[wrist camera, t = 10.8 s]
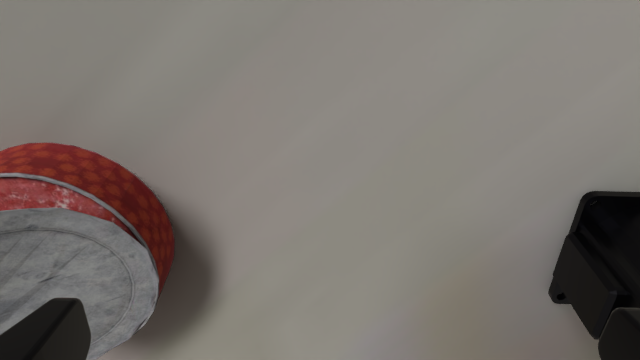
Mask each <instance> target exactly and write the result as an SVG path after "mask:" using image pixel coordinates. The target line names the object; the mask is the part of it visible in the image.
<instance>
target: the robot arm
mask: <svg viewBox="0 0 640 360" xmlns="http://www.w3.org/2000/svg"><path fill="white" fill-rule="evenodd" d="M593 201H596V202H595V203H594V204H593V205H590V204H591V203H592V202H593ZM559 293H561V294H559ZM548 294H549V296H550V297H551V299H552V301H553V302H555V303H558V304H571V305H572V307H573V308H574V310H575V311H576V313H577V315H578V316H579V318H580V319H581V321H582V322H583V324H584V326H585V327H586V329H587V330H588V332H589V334H590V335H591V336H592V337H593V338H594V339H599V343H598V350H599V355H600V358H601V360H640V192H607V191H592V192H589V193H586V194H585V195H584V196H583V197H582V198H581V200H580V203H579V206H578V209H577V211H576V214H575V217H574V220H573V223H572V226H571V229H570V231H569V234H568V235H567V236H566V238H565V241H564V244H563V247H562V250H561V252H560V255H559V258H558V261H557V264H556V267H555V270H554V273H553V280H552V283H551V285H550V288H549V292H548ZM90 344H91V331H90V327H89V324H88V320H87V317H86V313H85V310H84V306H83V303H82V301H81V300H80V299H78V298H53V299H51V300H49V301H48V302H46V303H45V304H43V305H42V306H41V307H39V308H38V309H36V310H35V311H33V312H32V313H31V314H29V315H28V316H26V317H25V318H23V319H22V320H21V321H19V322H18V323H16V324H15V325H13V326H12V327H11V328H9V329H8V330H6V331H5V332H4V333H2V334H1V335H0V360H86V358H87V355H88V352H89V348H90Z"/></svg>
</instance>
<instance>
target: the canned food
mask: <svg viewBox="0 0 640 360" xmlns="http://www.w3.org/2000/svg"><path fill="white" fill-rule="evenodd" d="M174 249H175V239H174V234H173V230H172V225H171V222H170V220H169V218H168V216H167V214H166V211H165V209H164V207H163V206H162V204H161V203H160V202H159V200H158V199H157V197H156V196H155V195H154V193H153V192H152V191H151V190H150V189H149V188H148V187H147V186H146V185H145V184H144V183H143V182H142V181H141V180H140V179H139V178H138V177H137V176H136V175H134V174H133V173H131V172H130V171H128V170H127V169H125V168H124V167H123V166H121V165H120V164H118V163H116V162H114V161H112V160H110V159H108V158H106V157H104V156H102V155H100V154H98V153H96V152H92V151H89V150H86V149H83V148H80V147H76V146H72V145H65V144H58V143H27V144H23V145H18V146H14V147H9V148H7V149H5V150H3V151H0V335H1V334H2V333H4V332H5V331H6V330H8V329H9V328H11V327H12V326H13V325H15V324H16V323H18V322H19V321H21V320H22V319H23V318H25V317H26V316H28V315H29V314H31V313H32V312H33V311H35V310H36V309H38V308H39V307H41V306H42V305H43V304H45V303H46V302H48V301H49V300H51V299H53V298H78V299H80V300H81V301H82V303H83V306H84V310H85V313H86V317H87V320H88V324H89V327H90V331H91V344H90V348H89V352H88V355H87V358H86V360H96V359H98V358H99V357H101V356H102V355H103V354H105V353H106V352H108V351H109V350H111V349H112V348H114V347H116V346H118V345H120V344H121V343H123V342H125V341H127V340H128V339H130V338H131V336H133V335H134V334H135V333H136V332H137V331H139V330H140V329H141V328H142V327H143V326H144V325H145V324H146V323H147V321H148V320H149V318H150V317H151V315H152V314H153V312H154V310H155V307H156V304H157V301H158V298H159V296H160V293H161V291H162V288H163V286H164V283H165V281H166V278H167V276H168V273H169V271H170V268H171V265H172V262H173V258H174Z"/></svg>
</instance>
